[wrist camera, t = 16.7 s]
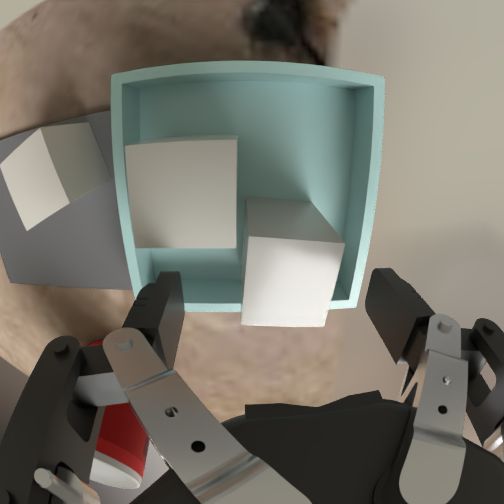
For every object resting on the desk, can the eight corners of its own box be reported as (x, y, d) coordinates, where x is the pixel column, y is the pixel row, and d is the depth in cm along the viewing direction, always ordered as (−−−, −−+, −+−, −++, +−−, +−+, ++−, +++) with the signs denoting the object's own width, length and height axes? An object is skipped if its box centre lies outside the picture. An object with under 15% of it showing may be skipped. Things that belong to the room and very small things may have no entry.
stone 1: (71, 202, 16) (26, 231, 11) (49, 150, 14) (-1, 164, 10) (112, 179, 15) (69, 203, 11) (89, 122, 14) (40, 127, 9)
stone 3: (240, 262, 18) (240, 324, 12) (246, 196, 16) (249, 236, 11) (300, 265, 18) (323, 326, 13) (311, 201, 16) (345, 243, 11)
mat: (12, 280, 19) (10, 282, 18) (-16, 147, 13) (-19, 148, 13) (146, 287, 19) (145, 290, 19) (127, 107, 14) (124, 107, 14)
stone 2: (169, 205, 16) (135, 248, 11) (165, 136, 14) (124, 145, 9) (237, 204, 16) (236, 248, 11) (238, 134, 15) (236, 140, 9)
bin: (151, 282, 19) (137, 309, 16) (133, 81, 13) (111, 74, 10) (340, 280, 19) (356, 307, 17) (360, 83, 14) (384, 77, 11)
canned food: (74, 330, 21) (21, 428, 11) (157, 343, 22) (124, 464, 12) (95, 384, 24) (64, 470, 14) (167, 397, 25) (150, 496, 15)
